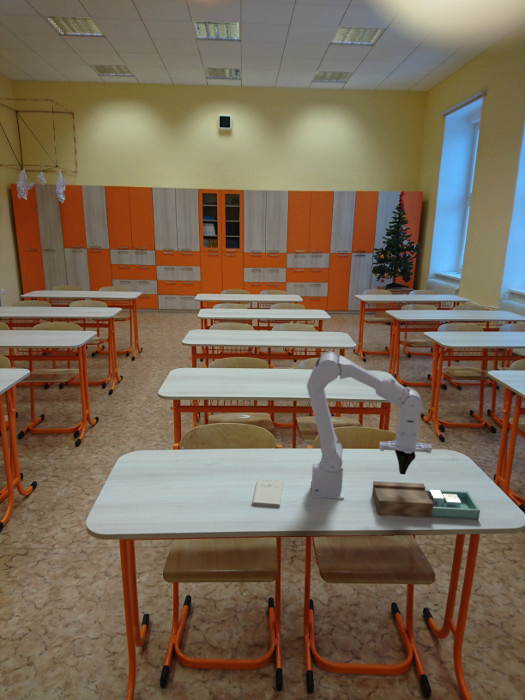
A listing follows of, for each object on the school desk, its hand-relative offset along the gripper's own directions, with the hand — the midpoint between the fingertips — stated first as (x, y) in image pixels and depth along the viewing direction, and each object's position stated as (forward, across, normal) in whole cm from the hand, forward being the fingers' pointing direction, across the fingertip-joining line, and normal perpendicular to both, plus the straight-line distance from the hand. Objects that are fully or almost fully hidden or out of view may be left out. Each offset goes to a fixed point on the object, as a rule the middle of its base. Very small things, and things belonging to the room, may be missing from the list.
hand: (402, 472), depth 131 cm
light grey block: (+6, +14, -3) cm, 16 cm away
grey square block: (+7, +11, -3) cm, 13 cm away
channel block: (+9, 0, -3) cm, 10 cm away
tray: (+9, +14, -3) cm, 17 cm away
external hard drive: (+10, -40, -1) cm, 41 cm away
